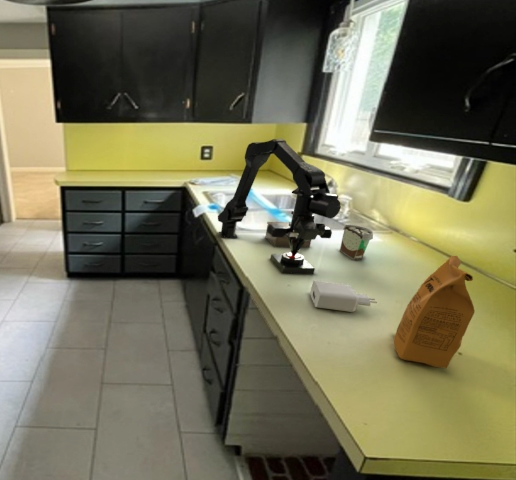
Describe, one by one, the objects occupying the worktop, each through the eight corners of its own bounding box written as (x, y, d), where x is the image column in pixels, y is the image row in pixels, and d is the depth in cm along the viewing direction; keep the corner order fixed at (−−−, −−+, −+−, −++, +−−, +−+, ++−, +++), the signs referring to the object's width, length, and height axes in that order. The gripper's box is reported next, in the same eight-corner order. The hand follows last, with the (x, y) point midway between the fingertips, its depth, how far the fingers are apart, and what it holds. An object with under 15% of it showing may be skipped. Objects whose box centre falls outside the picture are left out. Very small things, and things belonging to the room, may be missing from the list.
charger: (379, 317, 95) (316, 308, 98) (367, 300, 103) (309, 293, 107) (384, 301, 93) (320, 293, 96) (372, 286, 101) (313, 279, 105)
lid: (266, 223, 150) (267, 221, 150) (299, 224, 150) (300, 222, 150) (277, 232, 139) (277, 230, 139) (313, 233, 139) (313, 231, 138)
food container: (373, 261, 128) (382, 235, 124) (356, 261, 128) (364, 235, 124) (353, 249, 140) (361, 224, 135) (337, 249, 140) (344, 224, 135)
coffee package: (443, 346, 83) (485, 258, 74) (451, 376, 74) (499, 280, 65) (391, 332, 88) (424, 248, 79) (392, 358, 79) (429, 267, 70)
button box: (270, 259, 130) (272, 249, 128) (298, 260, 130) (300, 249, 128) (282, 273, 119) (284, 262, 117) (313, 274, 119) (316, 263, 117)
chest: (265, 237, 152) (267, 224, 150) (297, 237, 152) (300, 224, 149) (274, 246, 142) (277, 233, 139) (309, 247, 141) (313, 233, 139)
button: (284, 257, 125) (285, 252, 124) (295, 257, 125) (297, 253, 124) (288, 262, 122) (289, 257, 121) (300, 262, 121) (301, 257, 121)
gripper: (283, 216, 109) (273, 264, 116) (346, 217, 108) (333, 265, 115) (270, 207, 119) (262, 251, 126) (328, 208, 118) (317, 252, 125)
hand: (293, 255), depth 123 cm, fingers closed, pressing on button
